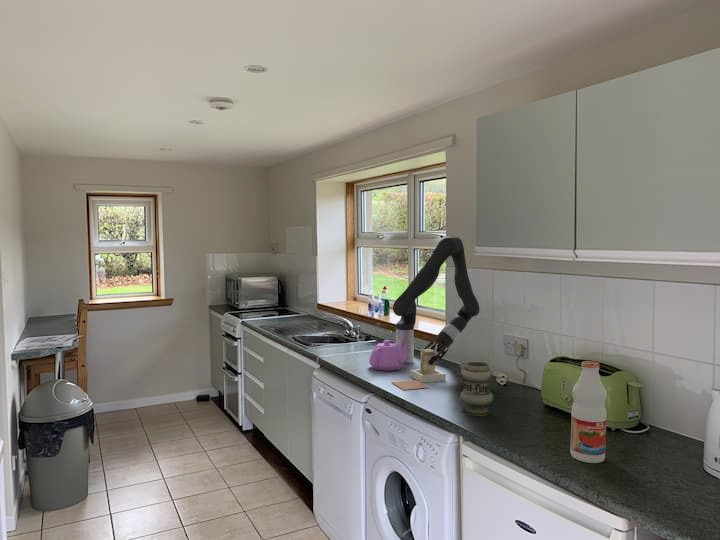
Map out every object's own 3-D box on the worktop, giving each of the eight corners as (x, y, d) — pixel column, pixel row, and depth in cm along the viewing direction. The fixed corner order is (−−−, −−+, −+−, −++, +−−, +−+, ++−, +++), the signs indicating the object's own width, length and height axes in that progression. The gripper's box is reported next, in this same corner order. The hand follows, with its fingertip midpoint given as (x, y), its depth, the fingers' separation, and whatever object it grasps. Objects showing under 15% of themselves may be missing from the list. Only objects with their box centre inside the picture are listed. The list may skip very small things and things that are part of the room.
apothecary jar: (453, 408, 203) (454, 361, 202) (481, 405, 207) (482, 358, 206) (471, 418, 192) (472, 368, 191) (499, 414, 196) (501, 365, 195)
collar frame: (410, 376, 251) (410, 369, 250) (433, 374, 255) (433, 367, 255) (421, 382, 239) (421, 375, 239) (445, 380, 243) (445, 373, 243)
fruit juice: (591, 450, 163) (595, 358, 162) (612, 462, 154) (615, 365, 153) (563, 452, 162) (566, 359, 160) (582, 465, 152) (585, 366, 151)
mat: (392, 383, 238) (392, 382, 238) (416, 381, 242) (416, 380, 242) (403, 390, 226) (403, 389, 226) (429, 388, 231) (429, 386, 231)
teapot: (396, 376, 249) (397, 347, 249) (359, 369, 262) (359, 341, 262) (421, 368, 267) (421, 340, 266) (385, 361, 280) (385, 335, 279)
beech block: (420, 377, 248) (420, 349, 248) (429, 376, 250) (430, 348, 250) (425, 380, 244) (425, 351, 243) (435, 379, 246) (435, 350, 245)
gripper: (435, 327, 255) (413, 353, 252) (450, 332, 242) (427, 359, 238) (445, 338, 257) (423, 363, 254) (460, 343, 244) (437, 370, 240)
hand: (425, 361), depth 246 cm, fingers open, 8 cm apart
